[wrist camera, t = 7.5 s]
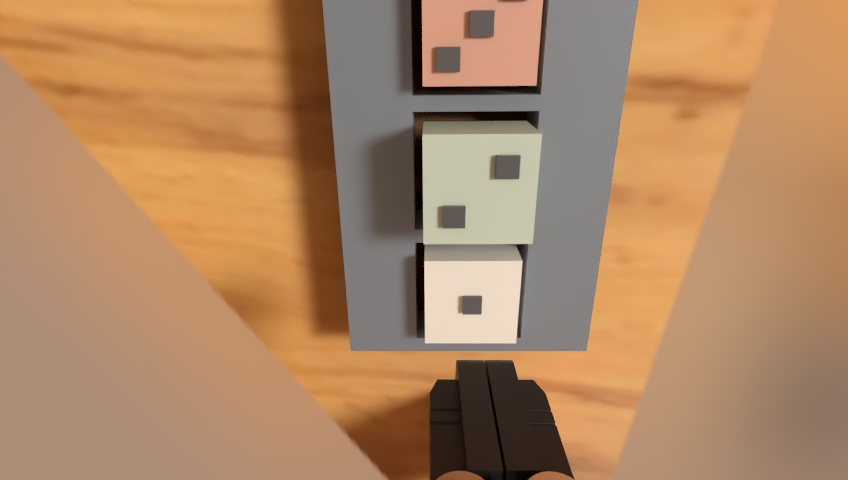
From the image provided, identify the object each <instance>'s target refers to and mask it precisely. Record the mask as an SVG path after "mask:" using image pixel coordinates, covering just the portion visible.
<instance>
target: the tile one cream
mask: <svg viewBox="0 0 848 480" xmlns="http://www.w3.org/2000/svg"><path fill="white" fill-rule="evenodd" d="M522 263H523V261H522V258H521V256H520V253H519V251H518V249H517V246H516V244H425V252H424V291H425V343H516V339H517V326H518V313H519V301H520V288H521V275H522Z"/></svg>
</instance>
